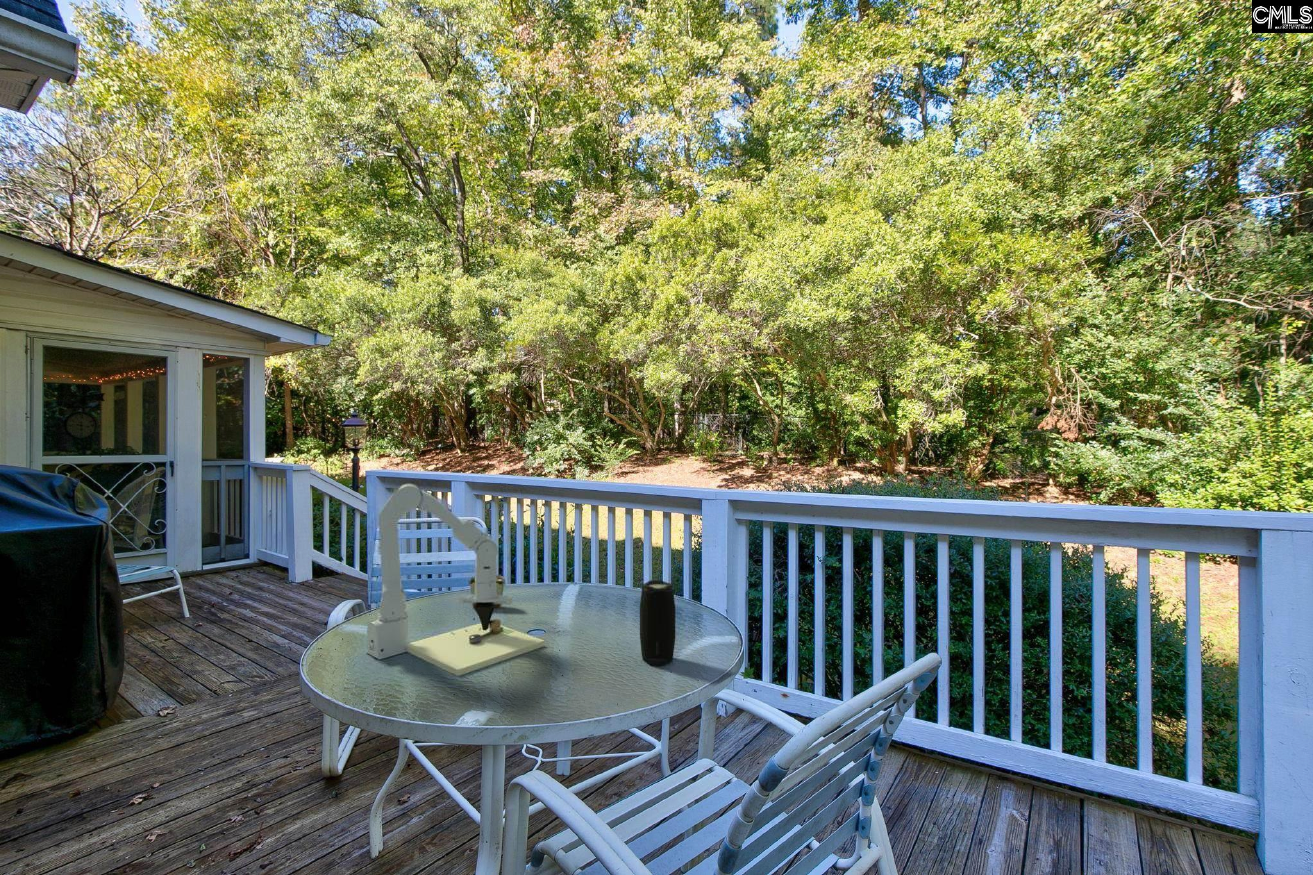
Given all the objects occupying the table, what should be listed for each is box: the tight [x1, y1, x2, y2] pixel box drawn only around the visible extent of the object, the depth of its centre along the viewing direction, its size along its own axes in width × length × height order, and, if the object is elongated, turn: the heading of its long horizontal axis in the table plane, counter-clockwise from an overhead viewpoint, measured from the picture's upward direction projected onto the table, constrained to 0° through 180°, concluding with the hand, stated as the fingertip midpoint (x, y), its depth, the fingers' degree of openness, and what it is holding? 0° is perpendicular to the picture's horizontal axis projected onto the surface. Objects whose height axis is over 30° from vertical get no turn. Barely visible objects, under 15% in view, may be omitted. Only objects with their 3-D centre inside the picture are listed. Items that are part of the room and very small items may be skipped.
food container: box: [468, 574, 507, 610], centre depth 197 cm, size 12×6×10 cm, turn 84°
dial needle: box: [469, 618, 503, 643], centre depth 163 cm, size 12×3×3 cm, turn 155°
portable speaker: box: [639, 579, 676, 667], centre depth 150 cm, size 9×9×20 cm
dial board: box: [406, 622, 545, 677], centre depth 159 cm, size 26×26×2 cm
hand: (485, 629), depth 166 cm, fingers closed
